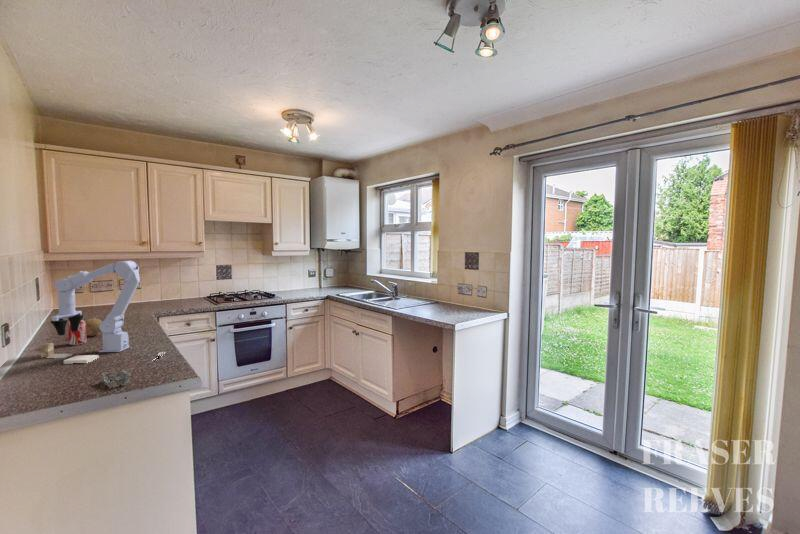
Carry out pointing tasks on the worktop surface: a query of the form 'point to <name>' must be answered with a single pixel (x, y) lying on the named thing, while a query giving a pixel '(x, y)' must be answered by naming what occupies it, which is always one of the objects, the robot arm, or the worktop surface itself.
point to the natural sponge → (93, 326)
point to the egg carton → (116, 378)
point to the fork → (158, 354)
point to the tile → (81, 359)
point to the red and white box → (77, 334)
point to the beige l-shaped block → (51, 351)
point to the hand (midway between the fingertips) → (68, 332)
